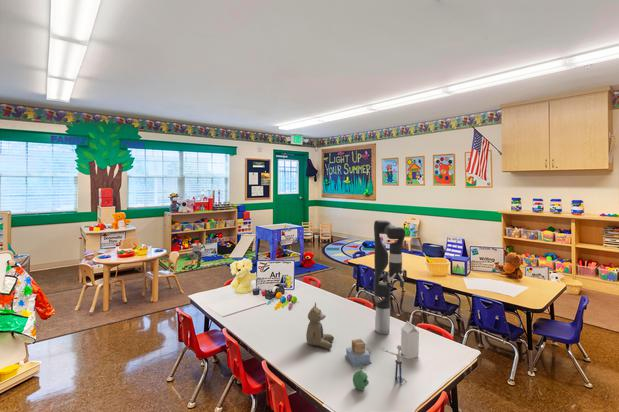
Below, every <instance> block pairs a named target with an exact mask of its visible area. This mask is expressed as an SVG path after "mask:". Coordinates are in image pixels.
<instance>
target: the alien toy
mask: <svg viewBox="0 0 619 412" xmlns="http://www.w3.org/2000/svg"><path fill="white" fill-rule="evenodd" d="M359 369H360V370H357V371H355V372H354V373H353V376H352V384H353V387H354V388H355V389H357V390H358V391H363V390H365V388H366V387H367V386H368V385H369V383H370V381H369V379H368V375H367V373H366V372H365V371H363V370H362V369H363V365H360V366H359Z"/></svg>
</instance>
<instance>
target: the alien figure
mask: <svg viewBox="0 0 619 412" xmlns="http://www.w3.org/2000/svg"><path fill="white" fill-rule="evenodd" d="M396 349H397V353H394V352H391V351H388V350H386V349H384V348H383V349H382V348H380V350H381V351H382V352H385V353H389V354H391V355H394V356H396V359H395V373H394V374H395V376H394V382H395V383H398V382H399V385H402V384H403V382H405V383H406V382H407V383H408V380H406V379H405V378H404V377H402V364H403V362H402V361H401V360H402V358H404V359H407V360H412V361H413V362H418V359H417V357H415V358H408V357H405V356H404V355H403V354H402V355H401V349H402V348H401V344H398V345H397V346H396ZM398 372H399V373H398ZM398 374H399V375H398Z"/></svg>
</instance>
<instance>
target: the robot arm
mask: <svg viewBox="0 0 619 412" xmlns="http://www.w3.org/2000/svg"><path fill="white" fill-rule="evenodd" d="M373 233H374V235H373V236H374V237H373V238H374V280H373V281H374V282H373V283H374V284H373V294H374V296H375V297H377V298H382V299H379V300H377V301H376V302H375V319H374V320H375V321H374V323H375V324H374V326H375V327H374V328H375V332H376V333H377V334H379V335H388V334H390V331H391V330H390V329H391V328H390V326H391V325H390V324H391V320H390V319H391V318H390V317H391V292H392V290H391V281H393V279H399V287H400V288H404V287H405V286H404V284H405V283H404V282H405V281H407V279H408V276H407V275H408V273H407V270H406V269H403V243H404V240H405V237H406V230H405V228H404V227H403V226H402V227H401V226H395V225H393V224H392V223H391V221H389V220H383V219H382V220H374V223H373ZM380 235H386V237H387V238H388V239H389V240H397V241H394V242H392V243H390V244H389V250H387V249H386V247H385V245H384V244H383V242H382V240H381V237H380ZM388 251H389V252H388ZM387 266H388V271H386V268H387ZM382 275H383V278H382V279H383V280H382V281H383V282H380V279H381V276H382Z"/></svg>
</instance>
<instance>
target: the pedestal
mask: <svg viewBox="0 0 619 412" xmlns="http://www.w3.org/2000/svg"><path fill="white" fill-rule="evenodd" d="M345 351H346V354H344V357H345V358H346V359H347V361H348V362H349V364H350V365H351V366H352V367H353V368H354V367H358V366H359V367H360V366H364V365H365V366H366V365H370V364H372V363H373V362H372V361H371V353H370V352H369V350H367V349H366V348H365V353H361V354H355V353H354V351H353V350H352V346H351V347H347V348H346V350H345Z"/></svg>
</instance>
